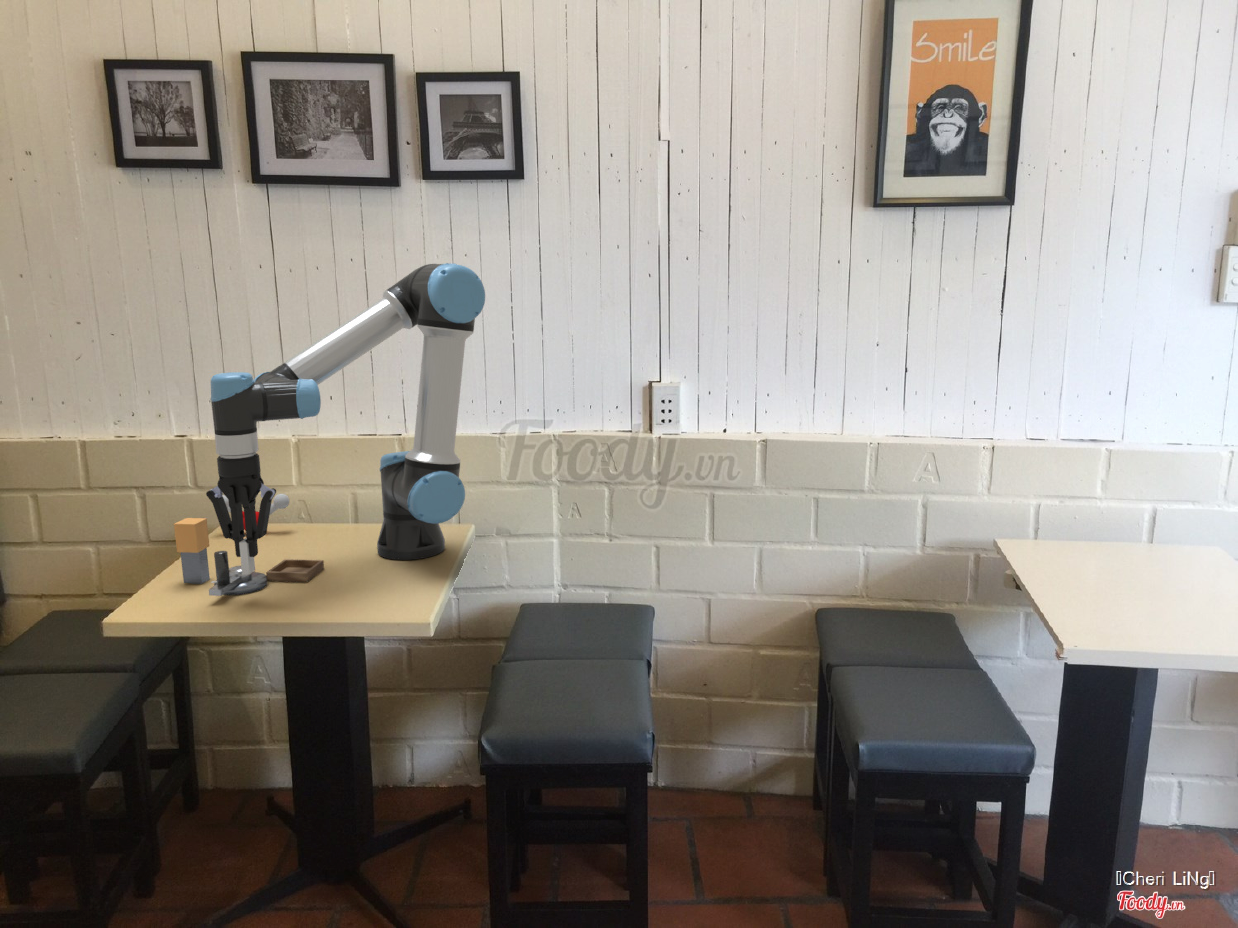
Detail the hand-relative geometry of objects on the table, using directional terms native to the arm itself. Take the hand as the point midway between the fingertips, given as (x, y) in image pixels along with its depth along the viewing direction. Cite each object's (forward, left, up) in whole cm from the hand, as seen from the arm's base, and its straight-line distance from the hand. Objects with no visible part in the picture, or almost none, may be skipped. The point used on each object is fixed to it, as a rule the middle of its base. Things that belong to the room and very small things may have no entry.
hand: (248, 572), depth 184 cm
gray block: (+16, -9, -6) cm, 19 cm away
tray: (-3, -15, -6) cm, 16 cm away
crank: (+5, -3, -4) cm, 7 cm away
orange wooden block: (+16, -9, +1) cm, 19 cm away
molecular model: (+21, -44, -6) cm, 49 cm away
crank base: (+5, -7, -6) cm, 10 cm away
